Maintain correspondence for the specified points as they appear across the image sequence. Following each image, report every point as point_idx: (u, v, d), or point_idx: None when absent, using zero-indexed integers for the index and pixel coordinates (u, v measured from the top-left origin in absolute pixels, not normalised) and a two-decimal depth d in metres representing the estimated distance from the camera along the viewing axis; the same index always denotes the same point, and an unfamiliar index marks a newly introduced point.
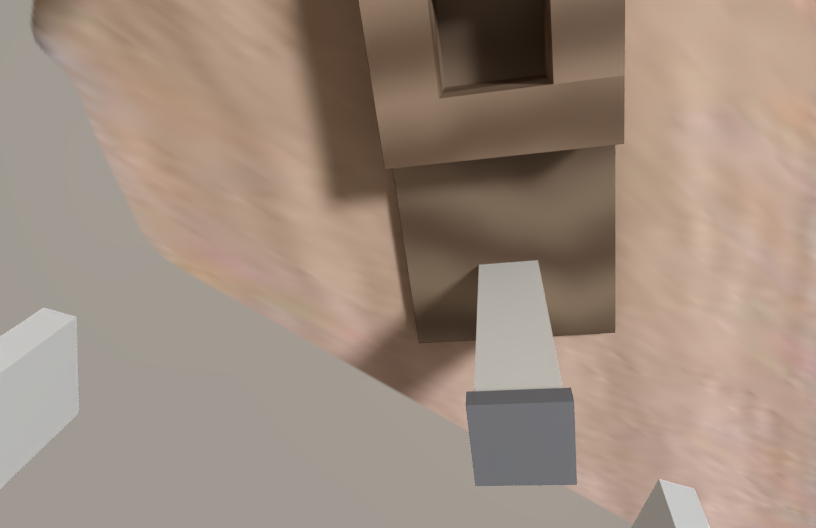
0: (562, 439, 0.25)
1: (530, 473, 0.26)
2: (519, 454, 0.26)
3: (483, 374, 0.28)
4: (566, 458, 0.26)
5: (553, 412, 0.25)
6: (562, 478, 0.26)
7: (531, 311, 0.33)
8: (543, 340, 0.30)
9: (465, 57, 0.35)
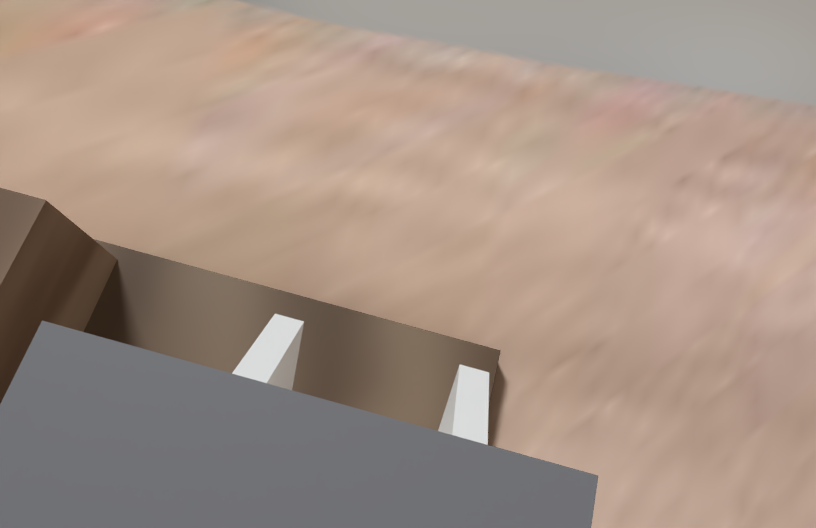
0: (255, 456, 0.04)
1: None
2: None
3: None
4: (395, 475, 0.04)
5: (54, 447, 0.04)
6: None
7: None
8: None
9: None
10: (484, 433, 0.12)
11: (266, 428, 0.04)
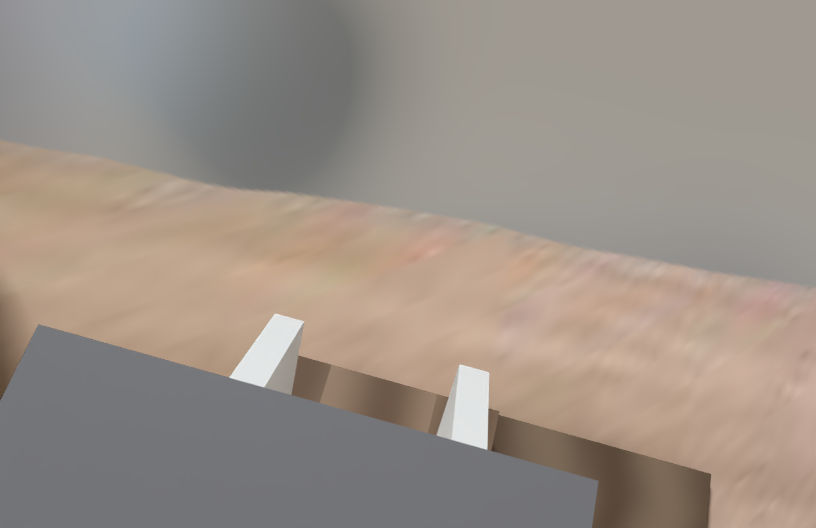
0: (253, 461, 0.04)
1: None
2: None
3: None
4: (394, 480, 0.04)
5: (50, 452, 0.04)
6: None
7: None
8: None
9: None
10: (484, 433, 0.12)
11: (264, 433, 0.04)
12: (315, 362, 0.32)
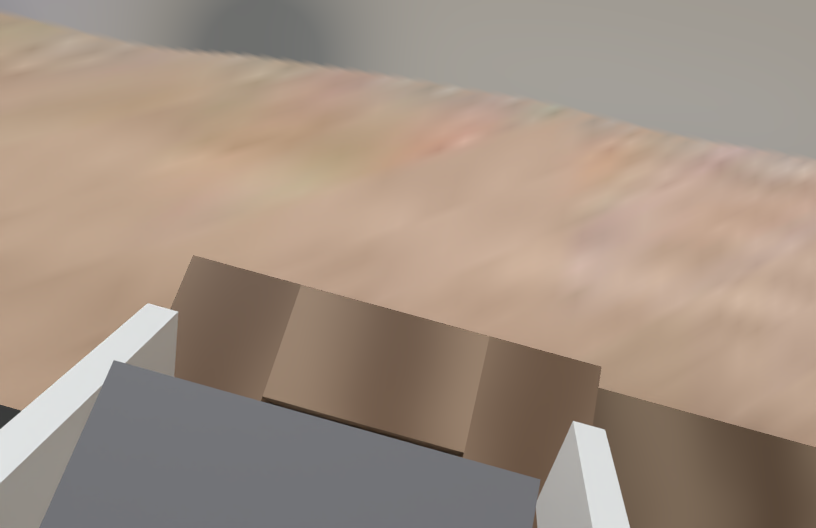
0: (279, 464, 0.06)
1: None
2: None
3: None
4: (385, 479, 0.06)
5: (126, 458, 0.06)
6: None
7: None
8: None
9: None
10: (621, 506, 0.11)
11: (286, 443, 0.06)
12: (272, 280, 0.18)
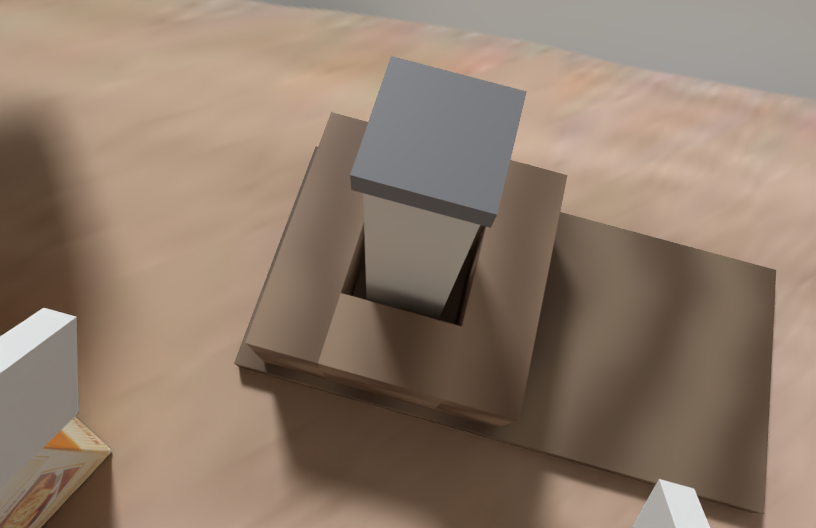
0: (445, 84, 0.19)
1: (492, 137, 0.18)
2: (455, 139, 0.18)
3: None
4: (478, 89, 0.19)
5: (399, 81, 0.19)
6: (511, 103, 0.19)
7: None
8: None
9: None
10: None
11: (447, 79, 0.19)
12: None
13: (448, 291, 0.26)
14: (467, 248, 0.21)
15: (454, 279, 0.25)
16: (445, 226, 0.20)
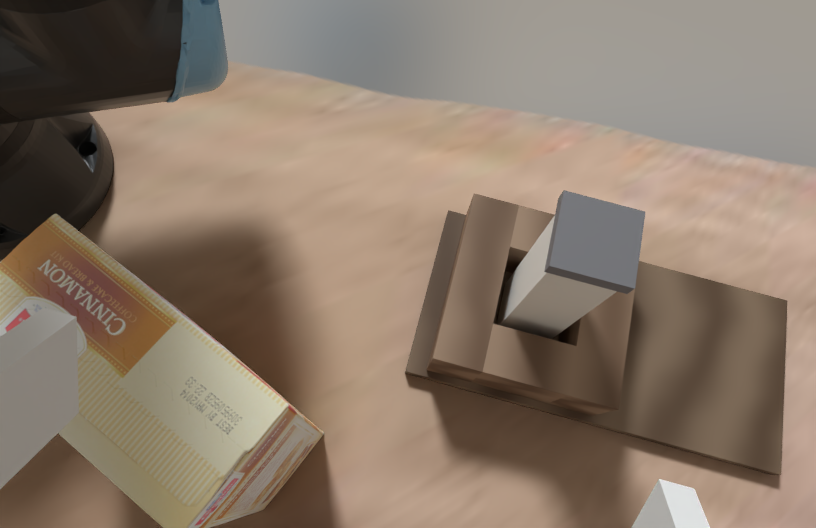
0: (597, 208, 0.32)
1: (628, 241, 0.31)
2: (606, 243, 0.31)
3: (542, 271, 0.33)
4: (617, 211, 0.32)
5: (570, 206, 0.32)
6: (637, 219, 0.32)
7: (525, 264, 0.40)
8: (539, 241, 0.37)
9: None
10: None
11: (598, 204, 0.32)
12: (507, 203, 0.44)
13: (571, 323, 0.39)
14: (601, 301, 0.34)
15: (580, 316, 0.37)
16: (593, 290, 0.33)
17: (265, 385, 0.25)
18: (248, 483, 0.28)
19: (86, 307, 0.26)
